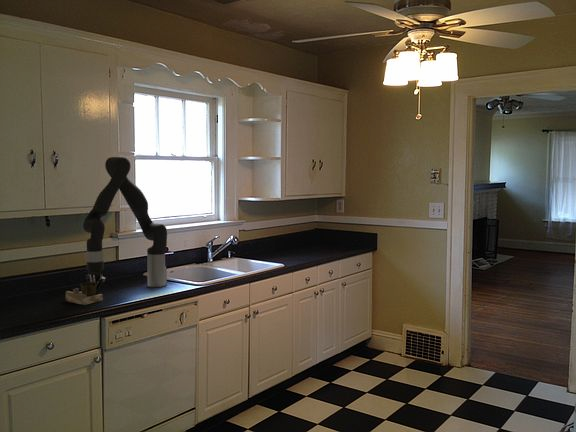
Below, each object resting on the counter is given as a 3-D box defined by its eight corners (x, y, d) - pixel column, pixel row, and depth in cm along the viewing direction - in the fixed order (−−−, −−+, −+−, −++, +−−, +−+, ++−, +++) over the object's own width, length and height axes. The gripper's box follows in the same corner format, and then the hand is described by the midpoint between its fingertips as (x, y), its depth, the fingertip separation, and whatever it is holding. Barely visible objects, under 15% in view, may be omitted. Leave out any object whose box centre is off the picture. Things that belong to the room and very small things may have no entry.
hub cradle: (84, 297, 270) (84, 283, 269) (102, 300, 263) (102, 286, 262) (65, 301, 260) (64, 287, 260) (83, 305, 253) (83, 290, 253)
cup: (91, 297, 269) (90, 281, 268) (100, 299, 265) (100, 282, 264) (77, 300, 263) (77, 283, 262) (87, 302, 259) (86, 285, 258)
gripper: (110, 260, 265) (111, 296, 267) (92, 257, 272) (93, 292, 274) (97, 262, 259) (99, 299, 261) (79, 260, 266) (80, 295, 268)
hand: (96, 295), depth 267 cm, fingers closed
